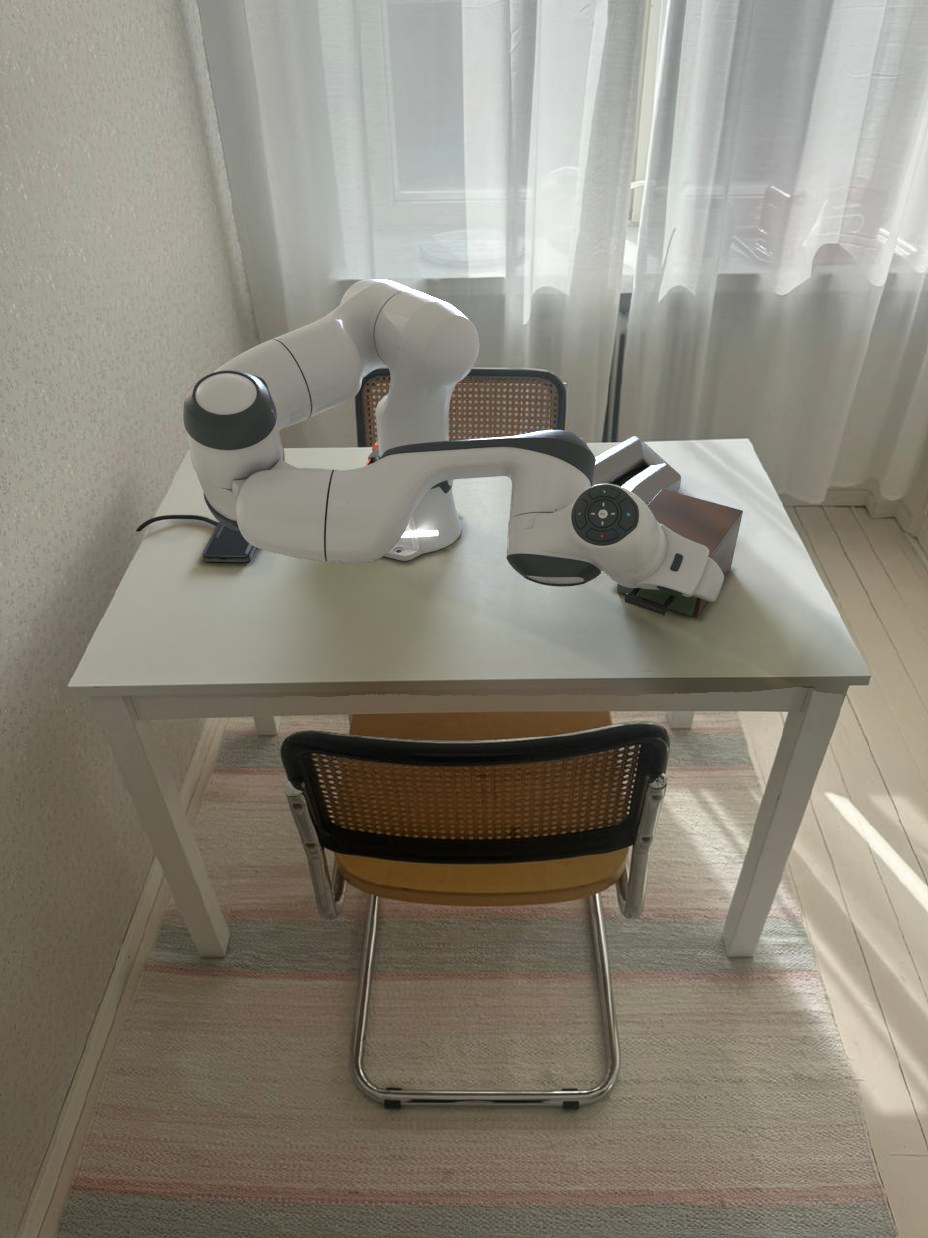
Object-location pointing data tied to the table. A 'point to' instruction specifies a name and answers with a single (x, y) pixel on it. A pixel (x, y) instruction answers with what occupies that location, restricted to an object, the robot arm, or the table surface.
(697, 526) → the cabinet
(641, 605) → the green drawer
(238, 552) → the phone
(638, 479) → the emblem
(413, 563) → the table surface
